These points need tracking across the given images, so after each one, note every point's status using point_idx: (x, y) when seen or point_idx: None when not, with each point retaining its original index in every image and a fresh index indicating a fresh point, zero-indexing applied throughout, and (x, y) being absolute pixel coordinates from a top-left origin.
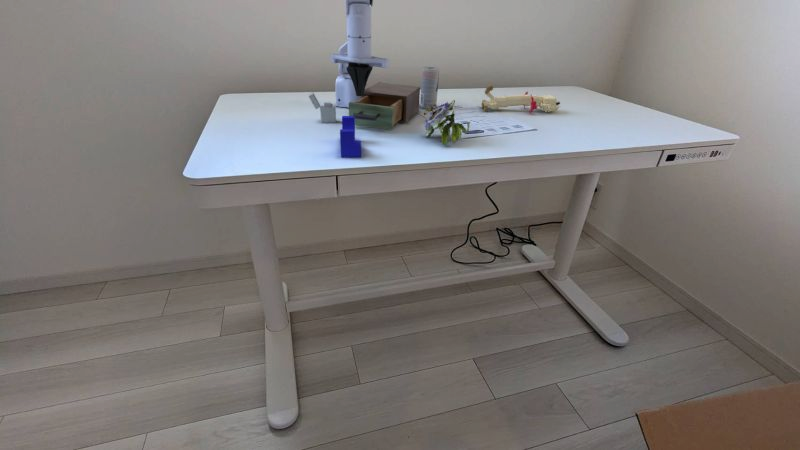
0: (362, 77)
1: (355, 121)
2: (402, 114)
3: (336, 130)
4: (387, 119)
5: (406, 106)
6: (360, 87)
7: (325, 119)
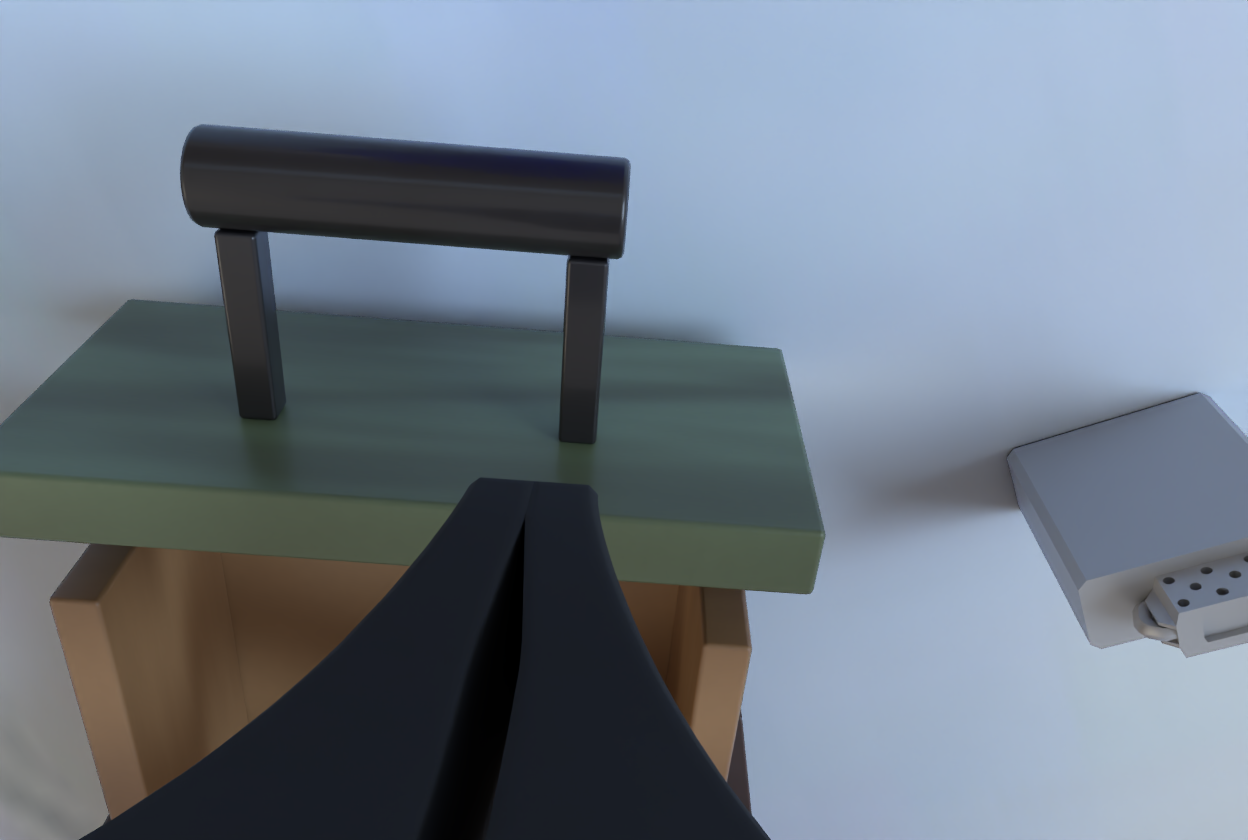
0: (216, 767)
1: (685, 365)
2: None
3: (922, 153)
4: (139, 372)
5: (103, 824)
6: (425, 581)
7: (1165, 433)
